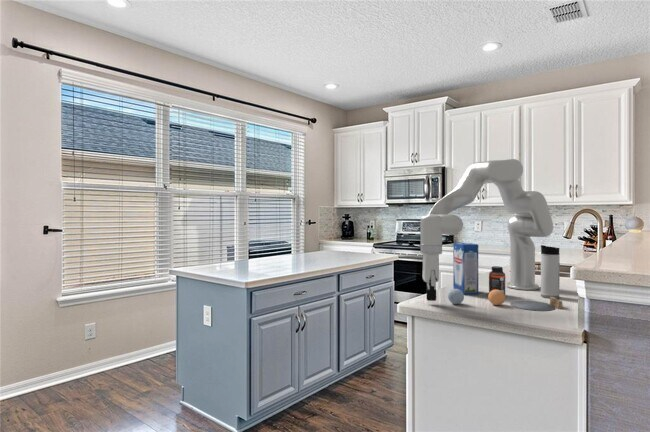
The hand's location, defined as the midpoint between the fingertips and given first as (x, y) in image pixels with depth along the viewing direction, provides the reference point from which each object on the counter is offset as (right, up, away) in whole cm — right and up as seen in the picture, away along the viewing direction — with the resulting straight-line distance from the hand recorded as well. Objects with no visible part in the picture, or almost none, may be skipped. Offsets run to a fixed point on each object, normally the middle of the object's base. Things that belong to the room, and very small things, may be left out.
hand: (431, 300), depth 145 cm
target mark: (+35, -1, -3) cm, 35 cm away
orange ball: (+23, +1, -2) cm, 23 cm away
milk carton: (+19, -1, +20) cm, 28 cm away
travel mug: (+48, -1, +10) cm, 49 cm away
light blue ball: (+9, +1, 0) cm, 9 cm away
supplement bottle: (+30, -1, +14) cm, 33 cm away
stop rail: (+42, -1, -5) cm, 43 cm away
